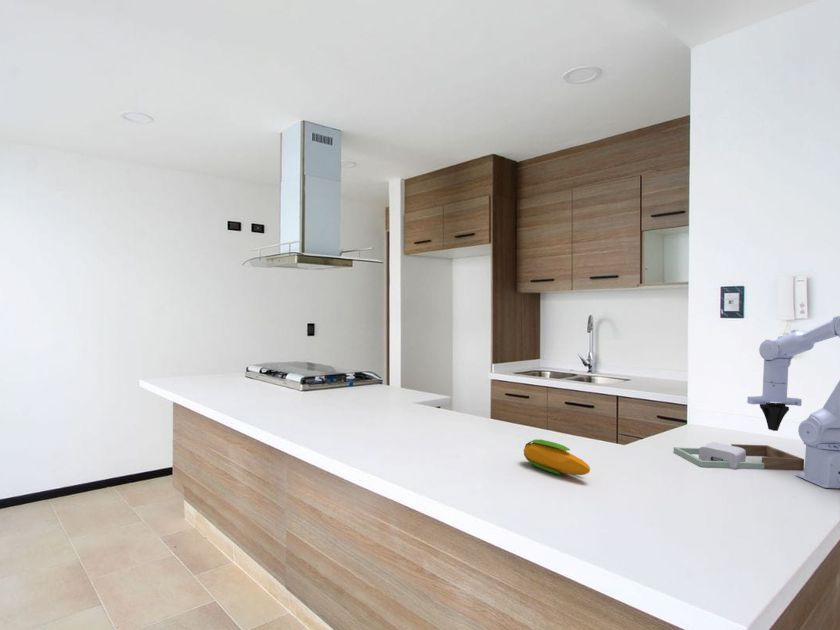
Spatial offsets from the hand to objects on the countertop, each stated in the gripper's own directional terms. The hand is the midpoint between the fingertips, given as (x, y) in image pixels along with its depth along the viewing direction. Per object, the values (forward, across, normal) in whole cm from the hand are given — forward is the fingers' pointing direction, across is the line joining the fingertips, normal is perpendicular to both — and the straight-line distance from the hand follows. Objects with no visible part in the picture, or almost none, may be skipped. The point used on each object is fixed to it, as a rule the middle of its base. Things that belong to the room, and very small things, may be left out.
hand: (773, 430), depth 143 cm
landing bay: (+9, +15, -1) cm, 18 cm away
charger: (+10, +13, -1) cm, 16 cm away
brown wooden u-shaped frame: (+9, +1, -1) cm, 9 cm away
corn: (+10, +66, +13) cm, 68 cm away
